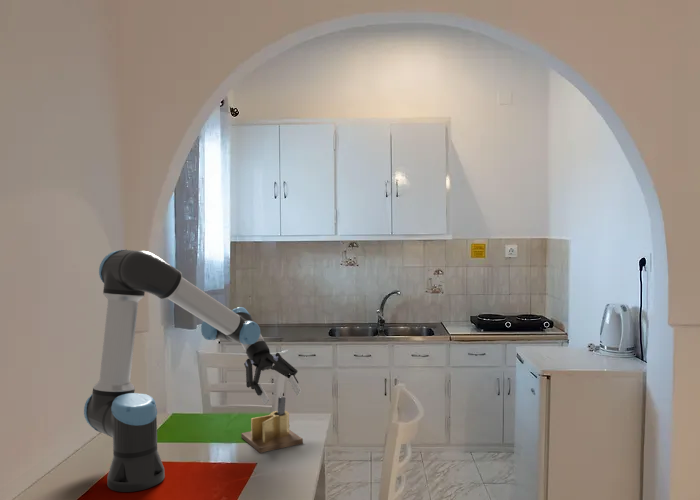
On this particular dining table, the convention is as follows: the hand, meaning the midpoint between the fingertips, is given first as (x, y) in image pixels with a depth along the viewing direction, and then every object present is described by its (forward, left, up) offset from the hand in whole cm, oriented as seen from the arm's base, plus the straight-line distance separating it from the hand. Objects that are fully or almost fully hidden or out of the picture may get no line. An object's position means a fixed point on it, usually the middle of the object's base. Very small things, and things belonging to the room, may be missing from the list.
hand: (283, 397), depth 197 cm
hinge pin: (-1, +2, -13) cm, 13 cm away
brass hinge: (-4, +1, -13) cm, 13 cm away
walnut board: (-4, +2, -14) cm, 15 cm away
